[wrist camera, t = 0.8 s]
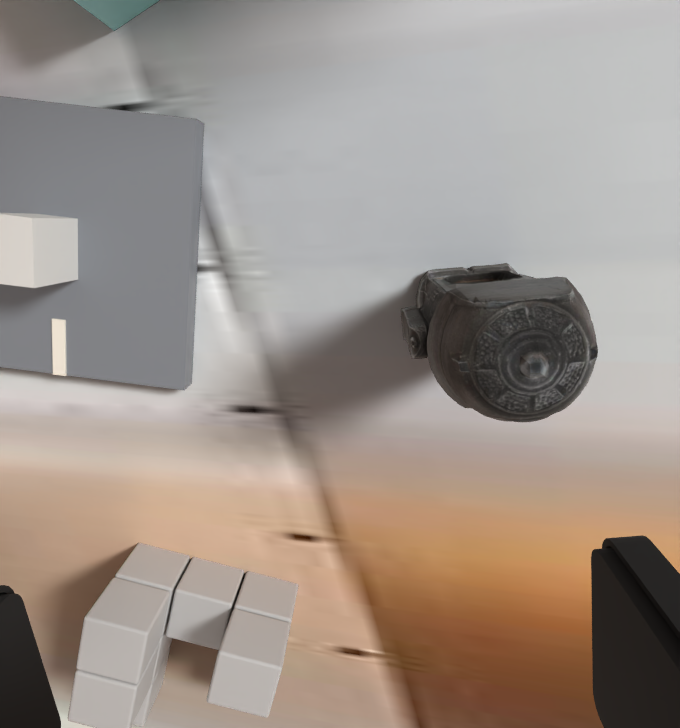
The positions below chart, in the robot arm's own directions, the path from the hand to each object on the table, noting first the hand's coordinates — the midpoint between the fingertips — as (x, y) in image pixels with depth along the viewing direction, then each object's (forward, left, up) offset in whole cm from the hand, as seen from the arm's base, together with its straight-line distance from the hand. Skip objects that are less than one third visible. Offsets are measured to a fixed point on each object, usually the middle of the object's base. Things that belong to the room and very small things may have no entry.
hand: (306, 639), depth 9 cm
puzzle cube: (+24, -8, -27) cm, 37 cm away
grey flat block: (-3, -18, -27) cm, 32 cm away
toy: (-2, +7, -27) cm, 28 cm away
